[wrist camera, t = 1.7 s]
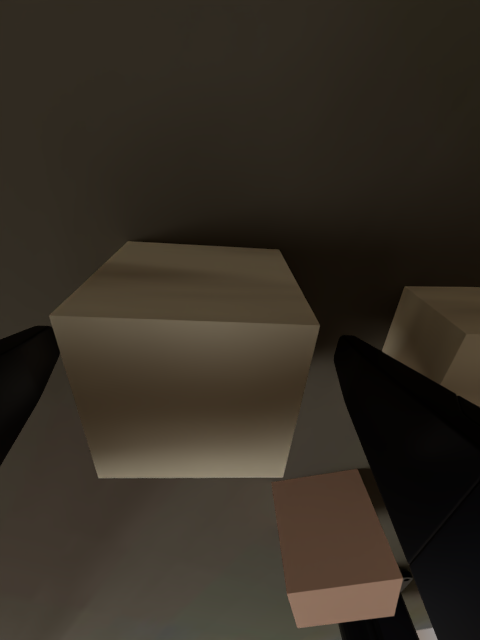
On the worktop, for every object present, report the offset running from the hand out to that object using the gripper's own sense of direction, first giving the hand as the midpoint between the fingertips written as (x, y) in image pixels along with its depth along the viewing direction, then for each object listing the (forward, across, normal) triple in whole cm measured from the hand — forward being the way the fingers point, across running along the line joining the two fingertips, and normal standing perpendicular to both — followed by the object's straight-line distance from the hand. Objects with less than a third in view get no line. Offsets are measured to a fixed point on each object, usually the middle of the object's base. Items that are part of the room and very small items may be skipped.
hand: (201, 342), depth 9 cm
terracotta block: (+2, -7, +13) cm, 15 cm away
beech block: (+2, 0, 0) cm, 2 cm away
